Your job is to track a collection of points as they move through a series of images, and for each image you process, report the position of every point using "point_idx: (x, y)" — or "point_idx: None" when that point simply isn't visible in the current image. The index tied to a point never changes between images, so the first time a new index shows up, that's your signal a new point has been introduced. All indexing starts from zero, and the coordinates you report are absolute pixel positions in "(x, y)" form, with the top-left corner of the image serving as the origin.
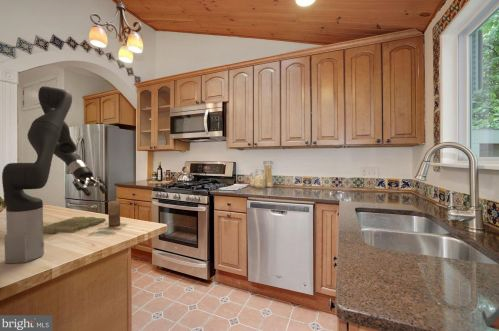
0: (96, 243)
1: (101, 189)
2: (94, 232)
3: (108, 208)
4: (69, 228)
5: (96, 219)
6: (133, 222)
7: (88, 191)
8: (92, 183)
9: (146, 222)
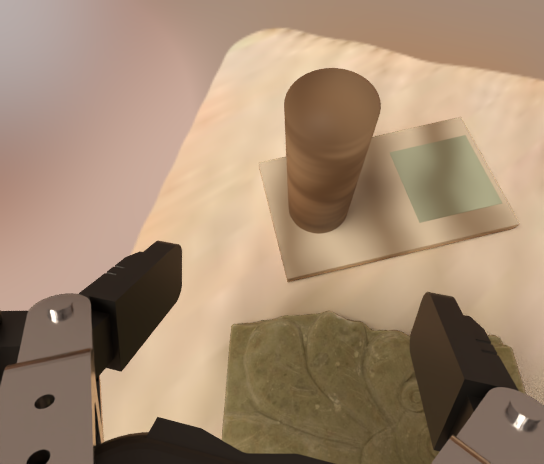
0: (537, 141)
1: (144, 317)
2: (455, 223)
3: (358, 165)
4: (518, 373)
5: (288, 350)
6: (213, 173)
7: (462, 321)
8: (225, 446)
9: (207, 116)
